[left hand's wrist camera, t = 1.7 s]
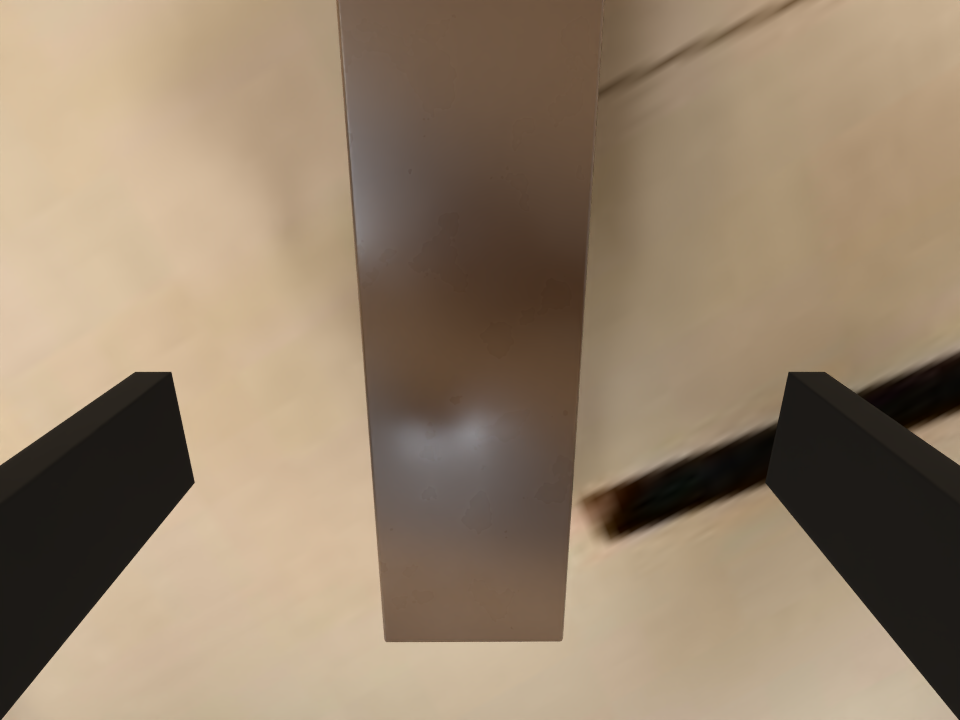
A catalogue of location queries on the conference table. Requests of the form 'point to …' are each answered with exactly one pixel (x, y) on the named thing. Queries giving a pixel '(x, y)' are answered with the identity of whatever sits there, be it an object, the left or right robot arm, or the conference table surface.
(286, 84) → the conference table surface
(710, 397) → the conference table surface
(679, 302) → the conference table surface
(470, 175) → the post
